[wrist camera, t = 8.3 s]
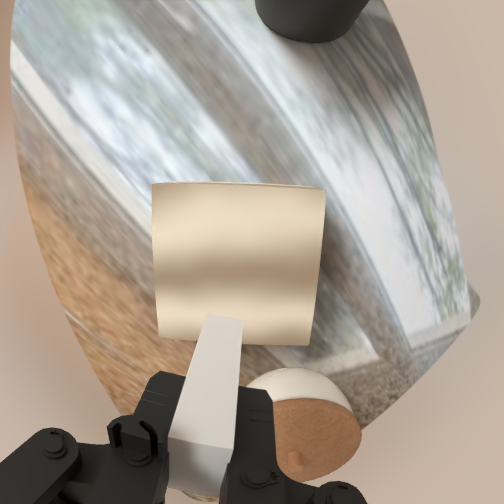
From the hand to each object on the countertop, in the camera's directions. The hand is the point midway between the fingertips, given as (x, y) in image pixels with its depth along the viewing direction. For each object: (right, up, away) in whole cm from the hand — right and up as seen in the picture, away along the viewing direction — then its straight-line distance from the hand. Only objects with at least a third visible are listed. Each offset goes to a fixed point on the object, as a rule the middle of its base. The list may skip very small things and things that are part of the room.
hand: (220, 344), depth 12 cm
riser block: (0, +4, +15) cm, 16 cm away
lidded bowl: (+5, -12, +19) cm, 23 cm away
